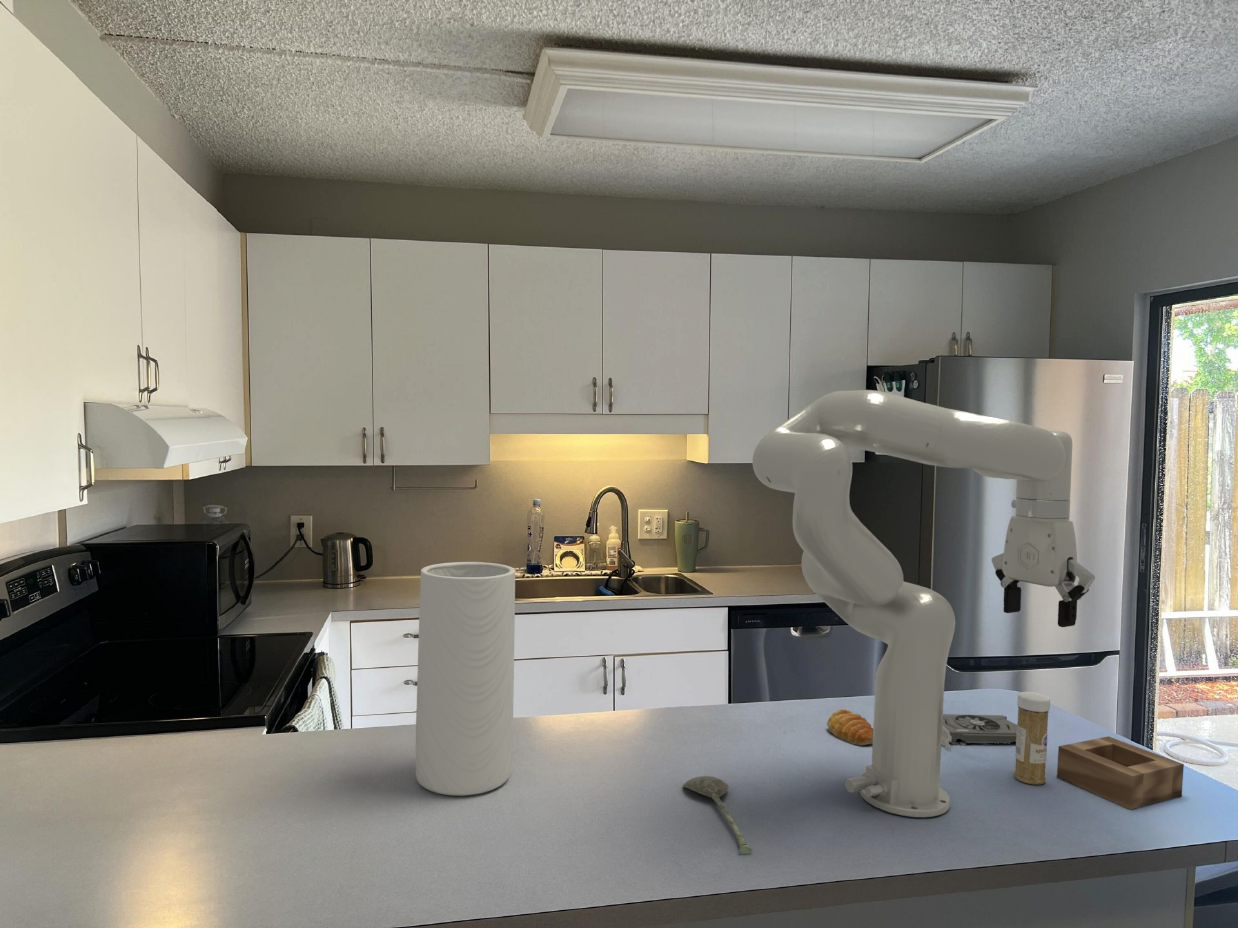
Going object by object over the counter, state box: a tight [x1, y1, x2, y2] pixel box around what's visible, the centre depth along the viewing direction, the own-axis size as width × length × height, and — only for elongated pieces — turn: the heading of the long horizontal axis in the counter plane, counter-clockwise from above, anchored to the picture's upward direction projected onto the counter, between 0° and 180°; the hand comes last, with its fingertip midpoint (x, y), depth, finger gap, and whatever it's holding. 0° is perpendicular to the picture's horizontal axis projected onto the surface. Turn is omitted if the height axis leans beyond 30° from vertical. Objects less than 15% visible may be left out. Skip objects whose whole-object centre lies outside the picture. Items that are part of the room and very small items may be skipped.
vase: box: [414, 561, 516, 797], centre depth 125 cm, size 14×14×32 cm
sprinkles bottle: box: [1013, 691, 1051, 785], centre depth 131 cm, size 5×5×14 cm
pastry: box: [826, 709, 873, 747], centre depth 148 cm, size 9×7×4 cm
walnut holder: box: [1056, 736, 1185, 811], centre depth 130 cm, size 12×12×5 cm
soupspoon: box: [682, 775, 753, 855], centre depth 117 cm, size 22×3×7 cm
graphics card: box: [941, 713, 1017, 752], centre depth 149 cm, size 17×4×12 cm
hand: (1038, 618), depth 131 cm, fingers open, 9 cm apart
